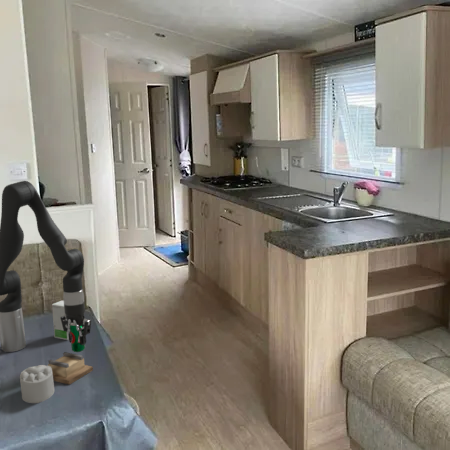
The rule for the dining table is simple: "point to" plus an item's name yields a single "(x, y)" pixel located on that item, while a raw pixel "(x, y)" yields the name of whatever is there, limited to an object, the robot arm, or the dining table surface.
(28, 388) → the white cylindrical tub
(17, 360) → the dining table surface
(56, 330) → the skincare box
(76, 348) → the soda can
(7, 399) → the dining table surface
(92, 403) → the dining table surface
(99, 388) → the dining table surface
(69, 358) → the display stand
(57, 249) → the robot arm
